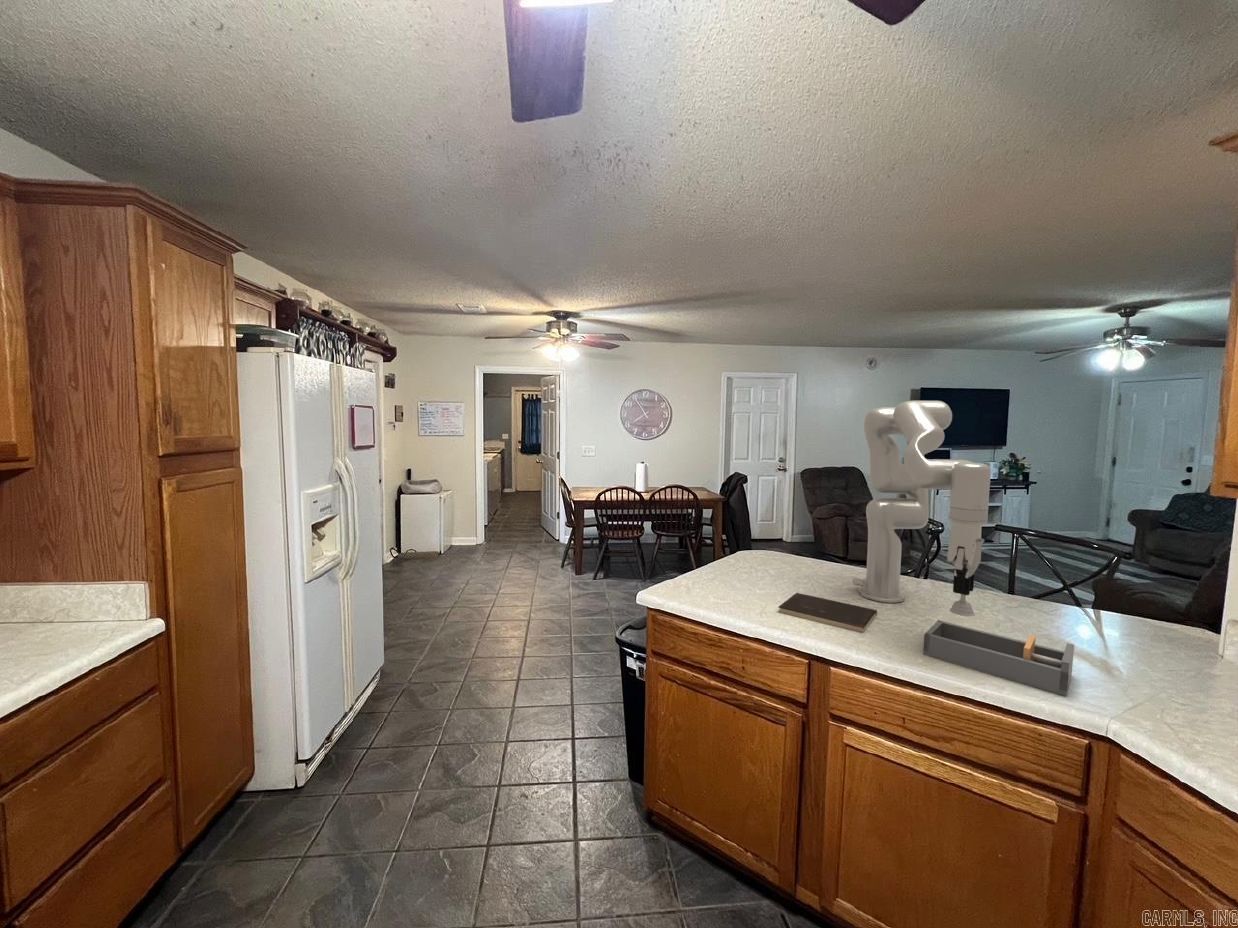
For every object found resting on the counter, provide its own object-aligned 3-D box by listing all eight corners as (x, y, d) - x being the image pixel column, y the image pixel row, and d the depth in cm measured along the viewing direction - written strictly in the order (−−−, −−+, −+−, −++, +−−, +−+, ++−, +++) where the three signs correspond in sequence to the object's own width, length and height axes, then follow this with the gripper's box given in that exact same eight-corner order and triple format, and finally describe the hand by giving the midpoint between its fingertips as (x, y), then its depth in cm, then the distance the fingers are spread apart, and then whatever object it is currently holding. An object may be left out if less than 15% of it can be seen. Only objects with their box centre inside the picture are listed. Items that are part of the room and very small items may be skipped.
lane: (922, 654, 122) (924, 625, 122) (936, 638, 131) (938, 612, 130) (1066, 696, 104) (1069, 663, 103) (1071, 675, 113) (1074, 644, 112)
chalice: (985, 619, 117) (991, 542, 116) (953, 616, 118) (957, 540, 117) (970, 608, 124) (975, 535, 123) (940, 605, 126) (944, 533, 124)
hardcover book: (863, 635, 134) (863, 626, 134) (778, 614, 149) (778, 606, 148) (876, 617, 147) (877, 609, 147) (797, 599, 161) (797, 592, 161)
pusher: (1021, 674, 110) (1023, 647, 110) (1027, 660, 117) (1029, 635, 116) (1059, 684, 106) (1061, 657, 105) (1063, 669, 112) (1065, 643, 112)
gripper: (957, 509, 128) (953, 580, 129) (940, 517, 116) (935, 595, 118) (994, 513, 123) (989, 587, 124) (979, 522, 111) (974, 604, 113)
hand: (963, 590), depth 121 cm, fingers closed on chalice, 3 cm apart
